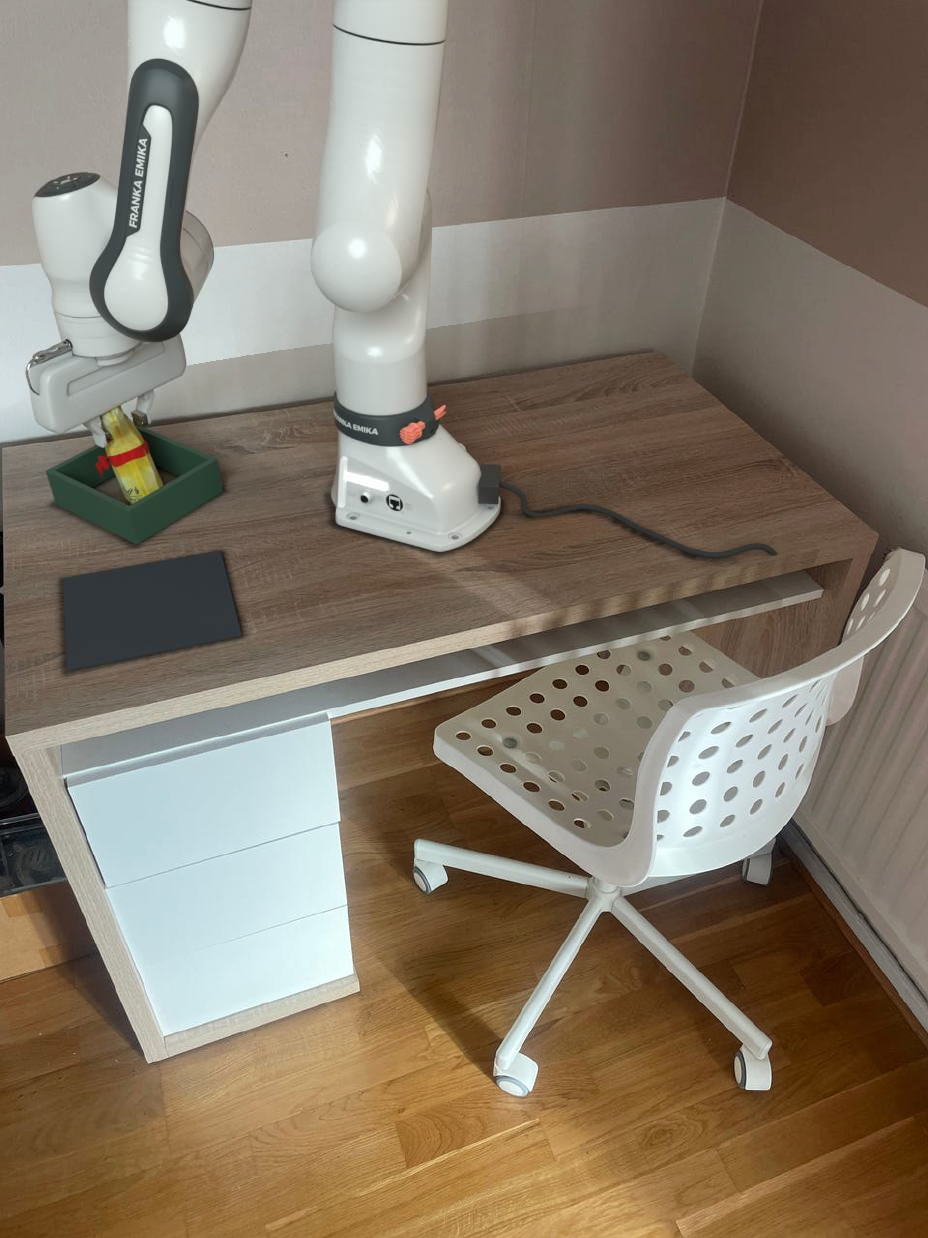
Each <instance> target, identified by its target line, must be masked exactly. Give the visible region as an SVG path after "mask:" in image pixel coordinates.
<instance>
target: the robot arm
mask: <svg viewBox="0 0 928 1238" xmlns="http://www.w3.org/2000/svg"><path fill="white" fill-rule="evenodd" d="M253 1H254V0H127V7H126V8H127V9H126V10H127V15H126V19H127V20H126V37H127V38H126V45H127V47H126V48H127V50H126V52H127V56H126V58H127V62H126V66H127V67H126V116H125V125H124V133H123V134H124V135H123V141H122V142H123V143H122V152H121V158H120V159H121V160H120V169H119V177H118V184H117V185H118V187H117V186H115V185H114V184H113V183H111V182H110V181H109V180H107V179H106V177H104V176H102V175H101V174H98V173H95V172H88V171H80V172H73V173H68V174H64V175H61V176H58V177H56V178H53V179H50V180H48V181H47V182H46V183H44V184H43V185H41V186H40V188H39V189H38V190H37V191H36V192H35V194H34V195H33V197H32V199H31V217H32V224H33V225H32V227H33V231H34V232H33V233H34V237H35V242H36V247H37V252H38V257H39V261H40V263H41V264H40V265H41V268H42V270H43V273H44V274H45V276H46V277H47V280H48V282H49V284H50V289H51V307H52V311H53V315H54V319H55V322H56V326H57V330H58V334H59V338H60V341H61V342H58V343H56V344H53V345H52V346H50V347H48V348H47V349H42V350H39V351H37V352H35V353H34V354H32V358H31V359H30V360H29V361H28V363H27V365H26V367H25V368H24V375H25V378H26V383H27V386H28V387H29V397H30V404H31V409H32V412H33V417H34V420H35V422H36V423H37V424H38V425H39V426H41V427H42V428H44V429H46V430H47V431H50V432H52V433H55V434H58V435H62V434H64V433H65V434H66V432H69V431H70V430H71V431H72V430H73V429H75V428H78V427H79V426H81V425H83V427H85V428H86V429H87V430H88V431H90V433H91V435H92V438H93V442H94V443H95V445H98V446H100V447H102V448H104V447H106V446H108V445H110V444H112V443H113V439H112V435H111V433H110V432H109V431H108V430H106V429H105V428H103V427H101V426H99V425H98V424H101V420H100V415H102V414H104V413H106V412H108V411H110V410H112V409H114V408H116V407H118V406H120V405H121V406H123V405H124V404H126V403H128V402H130V401H133V400H135V399H136V405H135V409H134V410H132V411H130V415H131V418H132V423H133V424H134V425H136V426H139V427H140V428H143V427H144V428H146V426H149V425H150V424H152V418H151V417H152V416H151V413H150V412H151V410H152V406H153V402H154V399H155V392H154V390H155V389H157V388H159V387H161V386H164V385H166V384H168V383H170V382H172V381H174V380H175V379H176V380H177V379H178V378H180V377H182V376H183V375H184V374H185V371H186V368H187V365H188V364H187V357H186V351H185V346H184V343H183V338H182V335H181V332H183V331H184V329H185V328H186V326H187V325H188V323H189V320H190V317H191V314H192V312H193V308H194V305H195V303H196V301H197V299H198V297H199V296H200V294H201V291H202V289H203V287H204V284H205V283H206V281H207V279H208V277H209V275H210V272H211V270H212V267H213V264H214V260H215V248H214V244H213V240H212V238H211V235H210V233H209V231H208V230H207V228H206V227H205V225H204V224H203V223H202V222H201V221H200V219H199V218H198V217H197V216H195V215H194V214H192V212H190V211H189V210H187V206H188V205H187V204H188V198H189V191H190V184H191V183H190V182H191V178H192V177H191V176H192V170H193V165H194V160H195V158H196V154H197V150H198V148H199V145H200V143H201V140H202V137H203V135H204V134H205V131H206V129H207V127H208V125H209V124H210V122H211V120H212V118H213V116H214V115H215V113H216V111H217V109H218V108H219V106H220V104H221V103H222V102H223V99H224V98H225V96H226V95H227V93H228V91H229V90H230V88H231V87H232V85H233V82H234V80H235V78H236V74H237V71H238V69H239V65H240V63H241V60H242V56H243V53H244V50H245V47H246V46H245V45H246V43H247V38H248V34H249V28H250V22H251V17H252V9H253ZM449 9H450V0H332V12H331V37H330V58H329V59H330V60H329V61H330V62H329V89H328V91H329V92H328V108H327V119H326V128H325V135H324V141H323V147H322V148H323V149H322V154H321V161H320V168H319V177H318V185H317V195H316V202H315V203H316V204H315V211H314V212H315V215H314V225H313V233H312V241H311V249H310V250H311V251H310V271H311V274H312V278H313V280H314V282H315V285H316V286H317V288H318V290H319V291H320V293H321V294H322V296H324V297H325V299H326V300H328V301H329V302H330V303H332V304H333V305H334V312H333V322H332V328H331V342H332V355H333V366H334V367H333V368H334V369H333V370H334V382H335V390H334V393H333V398H332V400H333V409H332V412H333V419H334V420H333V421H334V425H335V427H336V428H337V453H336V454H337V455H336V467H335V473H334V477H333V483H332V486H331V490H330V497H331V500H332V503H333V505H334V506H335V516H334V517H335V523H336V524H337V525H339V526H341V527H344V528H347V529H352V530H354V531H359V532H362V533H366V534H371V535H374V536H377V537H381V538H385V539H389V540H392V541H396V542H400V543H404V544H407V545H410V546H414V547H418V548H421V549H425V550H429V551H433V552H439V553H444V552H447V551H452V550H454V549H457V548H460V547H462V546H464V545H466V544H468V543H469V542H472V541H473V540H474V539H476V538H477V537H479V536H480V535H481V534H482V533H484V532H485V531H486V530H487V529H488V528H489V527H490V526H491V525H492V524H493V523H494V522H495V521H496V519H498V516H499V515H500V512H501V509H502V502H501V497H500V488H502V489H504V490H507V491H509V492H511V493H513V494H515V495H517V496H518V498H519V499H520V509H521V511H522V513H524V515H526V516H528V517H531V518H539V517H544V516H550V515H559V514H565V513H571V512H574V511H582V510H583V511H584V510H585V511H593V512H596V513H601V514H604V515H606V516H609V517H611V518H613V519H615V520H617V521H618V522H620V523H622V524H624V525H625V526H627V527H629V528H631V529H633V530H635V531H637V532H639V533H642V534H644V535H646V536H648V537H650V538H653V539H656V540H658V541H659V542H661V543H664V544H666V545H668V546H670V547H672V548H674V549H677V550H679V551H681V552H684V553H687V554H690V555H692V556H693V555H694V556H696V557H702V558H708V559H722V558H728V557H731V556H735V555H739V554H741V553H744V552H748V551H752V550H753V551H754V550H761V551H765V552H766V553H768V554H769V555H771V556H774V557H775V556H778V555H779V554H778V552H777V551H776V550H775V549H774V548H773V547H772V546H770V545H768V544H765V543H759V542H757V543H749V544H745V545H742V546H739V547H735V548H733V549H729V550H725V551H716V552H715V551H706V550H700V549H696V548H692V547H689V546H687V545H684V544H681V543H679V542H677V541H675V540H672V539H671V538H668V537H667V536H664V535H662V534H660V533H658V532H656V531H654V530H651V529H648V528H646V527H644V526H642V525H639V524H638V523H636V522H634V521H632V520H630V519H629V518H626V517H625V516H623V515H621V514H620V513H618V512H615V511H613V510H610V509H609V508H605V507H603V506H599V505H594V504H590V503H589V504H587V503H579V504H572V505H568V506H565V507H561V508H558V509H555V510H552V511H547V512H536V511H533V510H531V509H529V508H528V506H527V505H528V504H527V503H528V502H527V496H526V495H525V493H524V492H523V491H522V490H521V489H520V488H518V487H516V486H515V485H511V484H509V483H507V482H504V481H502V480H501V464H485V463H484V464H483V463H482V464H480V465H479V463H478V461H477V460H476V459H475V458H474V457H473V456H472V455H471V454H470V453H469V452H468V451H467V449H466V446H465V445H464V444H462V443H461V442H458V441H457V440H456V439H455V438H454V436H452V435H451V433H449V432H448V430H447V429H445V427H444V426H442V424H441V422H440V418H442V417H444V415H445V414H446V413H447V411H445V410H446V408H447V407H446V405H445V404H444V405H441V406H440V407H439V408H437V409H436V405H435V403H434V400H433V396H432V395H431V392H430V390H429V388H428V357H427V356H428V351H427V349H428V345H427V343H428V340H427V338H428V337H427V336H428V315H429V302H430V288H431V286H430V285H431V270H432V269H431V267H432V244H433V242H432V241H433V205H432V199H431V195H430V191H429V187H428V183H429V176H430V171H431V164H432V159H433V158H432V157H433V152H434V145H435V139H436V135H437V130H438V123H439V112H440V103H441V94H442V86H443V85H442V84H443V76H444V65H445V56H446V46H447V37H448V27H449V26H448V25H449V12H450V10H449Z"/></svg>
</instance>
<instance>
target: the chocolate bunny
mask: <svg viewBox="0 0 928 1238" xmlns="http://www.w3.org/2000/svg"><path fill="white" fill-rule="evenodd" d="M100 420H101V422H100V427H103V428H105V429H106V430H108V431H109V432H110V433H111V435H112V439H113V443H112V444H110V445H108V446H106V447H105V450H106V451H105V454H106V457H104V456H99V455H98V458H99V461H100V462H98V463H96V468H97V470H98V471H99V472H100V473H101V479H102V476H103V471H104V468H105V469H106V470H107V469H108V468H109V466H110V463H111V466H112V468H113V470H114V472H115V477H116V480H117V481H118V484H119V486H120V489H121V492H122V494H123V497H124V498H125V499H126V500H127V502H128V503H129V505H131V504H133V503H135V502H136V501H138V500H140V499H142V498H143V497H145V496H147V495H148V494H150V493H152V492H154V491H155V490H157V489H159V488H160V487H162V486H164V483H163V480H162V477H161V475H160V474H159V472H158V469H157V466H155V465H154V462H153V460H152V457H151V455H150V453H149V447H148V444H147V442H146V440H145V439H144V438H143V437H142V436H141V434H140V433H139V431H138V430H137V428H136V427H135V425H134V423H133V420H132V419H130V418H129V415H127V414H126V413H125V412H124V410H123V408H122V405H120V406H118V407H116V408H114V409H112V410H110V411H108V412H106V413H104V414H102V415H100ZM109 461H110V463H109Z"/></svg>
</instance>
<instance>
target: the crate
mask: <svg viewBox="0 0 928 1238" xmlns="http://www.w3.org/2000/svg"><path fill="white" fill-rule="evenodd" d="M135 427H136V428H137V430H138V431H139V433H140V434H141V436H142V437H143V438H144V439H145V440H146V442H147V444H148V447H149V453H150V455H151V457H152V460H153V462H154V465H155V467H158V468H160V469H162V470H164V471H166V472H169V473H171V474H173V475H176V476H178V477H176V478H174V479H172V480H171V481H169V482H168V483H166V484H163V486H162V487H160V488H159V489H157V490H155V491H154V492H152V493H150V494H148V495H147V496H145V497H143V498H142V499H140V500H138V501H136V502H135V503H133V504H129V505H128V504H126V503H124V502H123V501H120V500H118V499H116V498H114V497H111V496H110V495H108V494H105V493H104V492H101V491H100V490H96V489H95V487H97V486H99V485H101V484H102V483H104V482H106V481H108V480H110V479H111V478H113V477H116V475H115V472H114V470H113V468H112V466H111V463H110V461H109V463H110V466H109V468H108V469H107V470H106V469H105V468H104V471H103V476H102V479H101V473H100V472H99V471H98V470H97V468H96V463H98V462H100V461H99V458H98V455H99V456H104V457H106V454H105V451H106V450H105V447H104V448H102V447H100V446H98V445H96V444H95V445H93V446H91V447H89V448H87V449H85V450H83V451H81V452H79V453H77V454H76V455H74V456H71V457H70V458H68V459H65V460H64V461H61V462H60V463H58V464H56V465H54V466H52V467H51V468H48V469H47V470H46V469H45V473H46V477H47V480H48V483H49V486H50V489H51V493H52V496H53V499H54V503H55V505H57V506H59V507H61V508H63V509H64V510H66V511H68V512H71V513H72V514H75V515H77V516H78V517H80V518H83V519H84V520H86V521H88V522H90V523H92V524H94V525H96V526H98V527H100V528H102V529H104V530H106V531H109V532H110V533H112V534H114V535H116V536H118V537H121V538H122V539H124V540H126V541H128V542H130V543H133V544H134V545H139V544H140V543H142V542H144V541H146V540H147V539H148V538H150V537H153V535H155V534H156V533H159V532H160V531H162V530H163V529H165V528H166V527H167V526H169V525H171V524H173V523H174V522H176V521H178V520H179V519H181V518H183V517H184V516H186V515H187V514H188V515H189V514H190V512H192V511H194V510H196V509H198V508H199V507H201V506H202V505H204V504H206V503H207V502H209V501H211V500H212V499H213V498H215V497H217V496H218V495H220V494H222V493H223V492H224V488H223V482H222V477H221V471H220V470H221V469H220V464H219V458H217V457H216V456H213V455H210V454H208V453H205V452H203V451H201V450H198V449H196V448H194V447H191V446H189V445H186V444H184V443H182V442H180V441H178V440H175V439H173V438H171V437H168V436H166V435H163V434H161V433H159V432H156V431H154V430H151V429H149V428H146V427H143V428H140V427H139V426H136V425H135Z"/></svg>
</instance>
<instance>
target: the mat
mask: <svg viewBox="0 0 928 1238" xmlns="http://www.w3.org/2000/svg"><path fill="white" fill-rule="evenodd" d="M62 581H63V583H62V585H63V607H64V626H65V627H64V629H65V630H64V631H65V651H66V652H65V653H66V670H67V671H68V672H71V671H77V670H80V669H86V668H91V667H97V666H101V665H105V664H111V663H116V662H121V661H125V660H130V659H131V660H132V659H135V658H141V657H145V656H151V655H156V654H160V653H161V654H162V653H165V652H172V651H176V650H181V649H187V648H191V647H196V646H201V645H205V644H206V645H207V644H211V643H216V642H220V641H221V642H222V641H226V640H231V639H235V638H236V639H237V638H241V637H243V635H242V631H241V626H240V621H239V618H238V614H237V610H236V606H235V603H234V602H235V601H234V598H233V594H232V590H231V586H230V582H229V578H228V574H227V569H226V566H225V563H224V558H223V554H222V551H221V550H220V549H219V550H214V551H208V552H204V553H203V552H202V553H198V554H192V555H187V556H181V557H175V558H170V559H169V558H168V559H164V560H157V561H153V562H148V563H141V564H135V565H129V566H124V567H119V568H113V569H108V570H102V571H96V572H90V573H85V574H79V575H73V576H67V577H63V578H62Z"/></svg>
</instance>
